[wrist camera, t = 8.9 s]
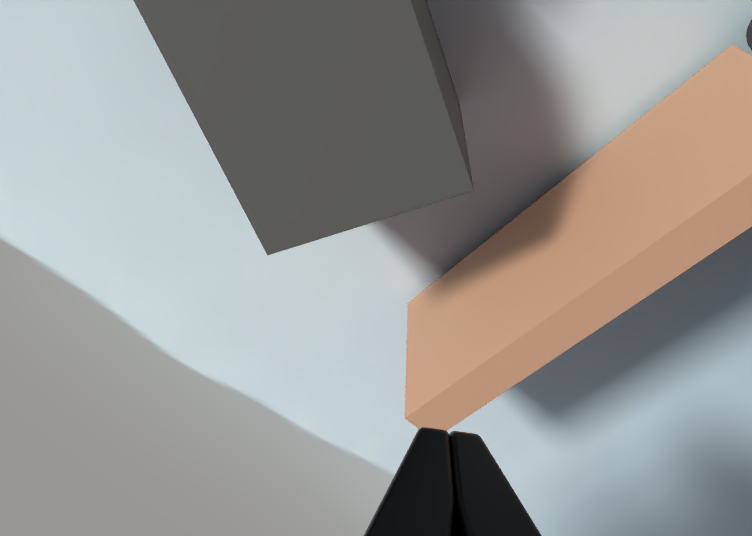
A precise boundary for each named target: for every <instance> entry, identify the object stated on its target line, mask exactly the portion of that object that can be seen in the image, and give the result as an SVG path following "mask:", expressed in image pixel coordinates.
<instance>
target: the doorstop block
mask: <svg viewBox="0 0 752 536" xmlns="http://www.w3.org/2000/svg"><path fill="white" fill-rule="evenodd" d="M134 2H135V4H136V6H137V8H138V10H139V11H140V13H141V15H142V17H143V19H144V21H145V23H146V25H147V27H148V29H149V30H150V32H151V34H152V36H153V38H154V40H155V42H156V44H157V46H158V48H159V49H160V51H161V53H162V55H163V57H164V59H165V61H166V63H167V65H168V67H169V69H170V70H171V72H172V74H173V76H174V78H175V80H176V82H177V84H178V86H179V88H180V89H181V91H182V93H183V95H184V97H185V99H186V101H187V103H188V105H189V107H190V109H191V110H192V112H193V114H194V116H195V118H196V120H197V122H198V124H199V126H200V128H201V129H202V131H203V133H204V135H205V137H206V139H207V141H208V143H209V145H210V147H211V148H212V150H213V152H214V154H215V156H216V158H217V160H218V162H219V164H220V166H221V168H222V169H223V171H224V173H225V175H226V177H227V179H228V181H229V183H230V185H231V187H232V188H233V190H234V192H235V194H236V196H237V198H238V200H239V202H240V204H241V206H242V208H243V209H244V211H245V213H246V215H247V217H248V219H249V221H250V223H251V225H252V227H253V228H254V230H255V232H256V234H257V236H258V238H259V240H260V242H261V244H262V246H263V247H264V249H265V251H266V253H267V255H270V254H273V253H276V252H280V251H283V250H286V249H289V248H292V247H296V246H299V245H302V244H305V243H308V242H312V241H315V240H318V239H321V238H324V237H328V236H331V235H334V234H337V233H340V232H343V231H347V230H350V229H353V228H356V227H359V226H363V225H366V224H369V223H372V222H375V221H379V220H382V219H385V218H388V217H391V216H395V215H398V214H401V213H404V212H407V211H410V210H414V209H417V208H420V207H423V206H426V205H430V204H433V203H436V202H439V201H442V200H446V199H449V198H452V197H455V196H458V195H461V194H465V193H468V192H471V191H474V189H473V183H472V177H471V171H470V165H469V159H468V153H467V147H466V140H465V134H464V128H463V122H462V116H461V110H460V104H459V101H458V98H457V95H456V92H455V89H454V86H453V82H452V79H451V76H450V73H449V70H448V67H447V64H446V61H445V58H444V54H443V51H442V48H441V45H440V42H439V39H438V36H437V33H436V29H435V26H434V23H433V20H432V17H431V14H430V11H429V8H428V5H427V1H426V0H134Z"/></svg>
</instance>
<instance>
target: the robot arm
mask: <svg viewBox="0 0 752 536" xmlns="http://www.w3.org/2000/svg"><path fill="white" fill-rule="evenodd" d="M364 536H541V534H540V533H539V531H538V529H537V528H536V526H535V524H534V523H533V521H532V520H531V518H530V516H529V515H528V513H527V511H526V510H525V508H524V507H523V505H522V503H521V502H520V500H519V498H518V497H517V495H516V494H515V492H514V490H513V489H512V487H511V485H510V484H509V482H508V481H507V479H506V477H505V476H504V474H503V472H502V471H501V469H500V468H499V466H498V464H497V463H496V461H495V459H494V458H493V456H492V455H491V453H490V451H489V450H488V448H487V446H486V445H485V443H484V442H483V440H482V438H481V437H480V436H479V435H477V434H473V433H466V432H458V431H453V432H451V433H450V434H448V432H447V431H446V430H443V429H435V428H427V427H422V428H420V429H419V430H418V432H417V433H416V435H415V437H414V439H413V441H412V443H411V445H410V447H409V449H408V451H407V453H406V455H405V457H404V459H403V461H402V463H401V465H400V466H399V468H398V470H397V472H396V474H395V476H394V478H393V480H392V482H391V484H390V486H389V488H388V490H387V492H386V494H385V496H384V498H383V500H382V502H381V503H380V505H379V507H378V509H377V511H376V513H375V515H374V517H373V519H372V521H371V523H370V525H369V527H368V529H367V530H366V532H365V535H364Z"/></svg>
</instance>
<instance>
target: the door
mask: <svg viewBox="0 0 752 536" xmlns="http://www.w3.org/2000/svg"><path fill="white" fill-rule="evenodd" d="M750 227H752V55H750V54H749V53H747V52H745V51H743V50H742V49H740V48H738V47H737V46H735V45H733V44H732V45H731V46H730V47H729V48H727V49H726V50H725V51H724V52H722V53H721V54H720V55H719V56H717V57H716V58H715V59H714V60H712V61H711V62H710V63H709V64H707V65H706V66H705V67H704V68H702V69H701V70H700V71H698V72H697V73H696V74H695V75H693V76H692V77H691V78H690V79H688V80H687V81H686V82H685V83H683V84H682V85H681V86H680V87H678V88H677V89H676V90H675V91H673V92H672V93H671V94H670V95H668V96H667V97H666V98H665V99H663V100H662V101H661V102H660V103H658V104H657V105H656V106H655V107H653V108H652V109H651V110H650V111H648V112H647V113H646V114H645V115H643V116H642V117H641V118H640V119H638V120H637V121H636V122H635V123H633V124H632V125H631V126H630V127H628V128H627V129H626V130H625V131H623V132H622V133H621V134H620V135H618V136H617V137H616V138H614V139H613V140H612V141H611V142H609V143H608V144H607V145H606V146H604V147H603V148H602V149H601V150H599V151H598V152H597V153H596V154H594V155H593V156H592V157H591V158H589V159H588V160H587V161H586V162H584V163H583V164H582V165H581V166H579V167H578V168H577V169H576V170H574V171H573V172H572V173H571V174H569V175H568V176H567V177H566V178H564V179H563V180H562V181H561V182H559V183H558V184H557V185H556V186H554V187H553V188H552V189H551V190H549V191H548V192H547V193H546V194H544V195H543V196H542V197H541V198H539V199H538V200H537V201H536V202H534V203H533V204H532V205H530V206H529V207H528V208H527V209H525V210H524V211H523V212H522V213H520V214H519V215H518V216H517V217H515V218H514V219H513V220H512V221H510V222H509V223H508V224H507V225H505V226H504V227H503V228H502V229H500V230H499V231H498V232H497V233H495V234H494V235H493V236H492V237H490V238H489V239H488V240H487V241H485V242H484V243H483V244H482V245H480V246H479V247H478V248H477V249H475V250H474V251H473V252H472V253H470V254H469V255H468V256H467V257H465V258H464V259H463V260H462V261H460V262H459V263H458V264H457V265H455V266H454V267H453V268H452V269H450V270H449V271H448V272H447V273H445V274H444V275H443V276H441V277H440V278H439V279H438V280H436V281H435V282H434V283H433V284H431V285H430V286H429V287H428V288H426V289H425V290H424V291H423V292H421V293H420V294H419V295H418V296H416V297H415V298H414V299H413V300H411V301H410V302H409V303H408V318H407V356H406V393H405V419H407V420H408V421H409V422H411V423H412V424H413V425H414V426H416V427H417V428H418V429H420V428H422V427H427V428H435V429H443V430H446V431H447V430H448V429H450V428H451V427H453V426H454V425H456V424H457V423H459V422H460V421H462V420H463V419H465V418H466V417H468V416H469V415H471V414H472V413H474V412H475V411H477V410H478V409H480V408H481V407H483V406H484V405H486V404H487V403H489V402H490V401H492V400H493V399H495V398H496V397H498V396H499V395H501V394H502V393H504V392H505V391H507V390H508V389H510V388H511V387H513V386H514V385H516V384H517V383H519V382H520V381H522V380H523V379H525V378H526V377H528V376H529V375H531V374H532V373H534V372H535V371H537V370H538V369H540V368H541V367H543V366H544V365H545V364H547V363H548V362H550V361H551V360H553V359H554V358H556V357H557V356H559V355H560V354H562V353H563V352H565V351H566V350H568V349H569V348H571V347H572V346H574V345H575V344H577V343H578V342H580V341H581V340H583V339H584V338H586V337H587V336H589V335H590V334H592V333H593V332H595V331H596V330H598V329H599V328H601V327H602V326H604V325H605V324H607V323H608V322H610V321H611V320H613V319H614V318H616V317H617V316H619V315H620V314H622V313H623V312H625V311H626V310H628V309H629V308H631V307H632V306H634V305H635V304H637V303H638V302H640V301H641V300H643V299H644V298H646V297H647V296H649V295H650V294H652V293H653V292H655V291H656V290H658V289H659V288H661V287H662V286H664V285H665V284H667V283H668V282H670V281H671V280H673V279H674V278H676V277H677V276H679V275H680V274H682V273H683V272H685V271H686V270H688V269H689V268H691V267H692V266H694V265H695V264H697V263H698V262H700V261H701V260H703V259H704V258H705V257H707V256H708V255H710V254H711V253H713V252H714V251H716V250H717V249H719V248H720V247H722V246H723V245H725V244H726V243H728V242H729V241H731V240H732V239H734V238H735V237H737V236H738V235H740V234H741V233H743V232H744V231H746V230H747V229H749V228H750Z"/></svg>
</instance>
